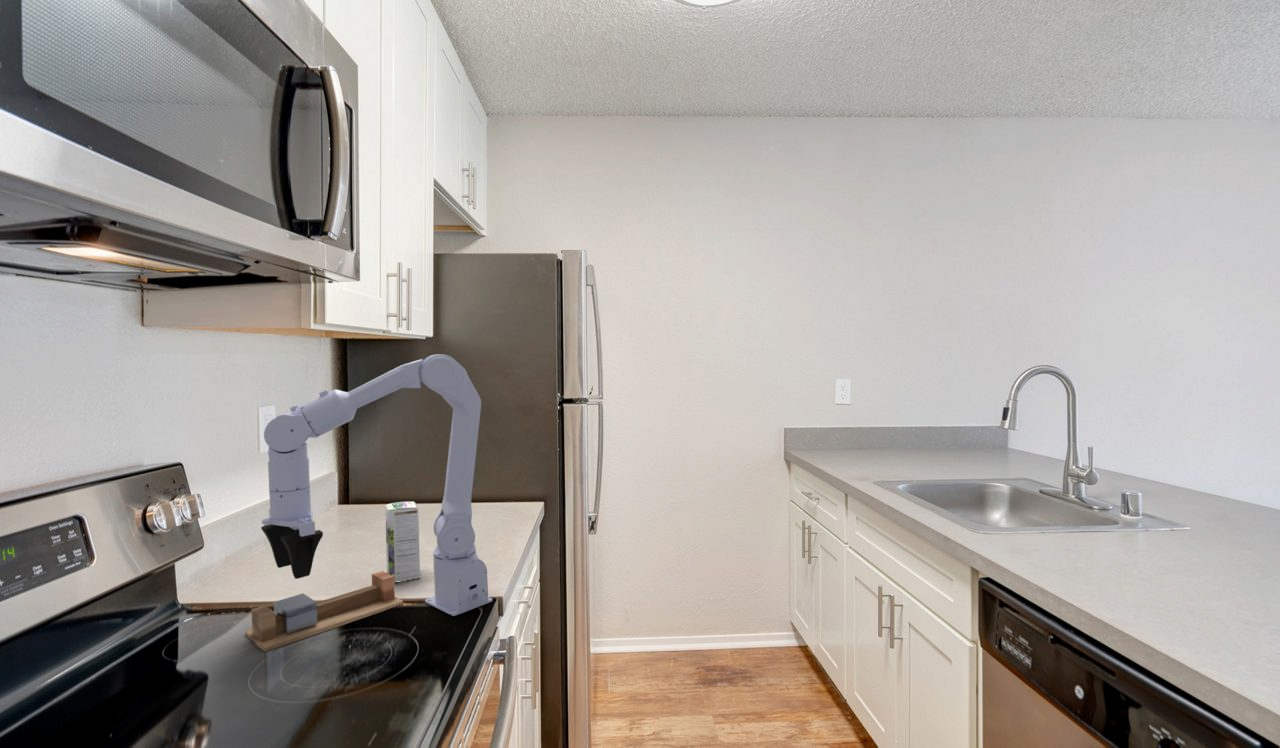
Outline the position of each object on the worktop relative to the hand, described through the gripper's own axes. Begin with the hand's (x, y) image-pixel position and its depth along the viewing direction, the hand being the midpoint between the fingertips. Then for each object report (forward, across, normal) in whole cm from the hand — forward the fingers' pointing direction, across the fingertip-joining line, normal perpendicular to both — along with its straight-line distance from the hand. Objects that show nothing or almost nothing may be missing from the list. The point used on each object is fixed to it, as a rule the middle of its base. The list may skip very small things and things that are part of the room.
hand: (293, 571), depth 100 cm
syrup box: (+10, -8, +22) cm, 26 cm away
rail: (+10, 0, +5) cm, 11 cm away
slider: (+10, 0, 0) cm, 10 cm away
